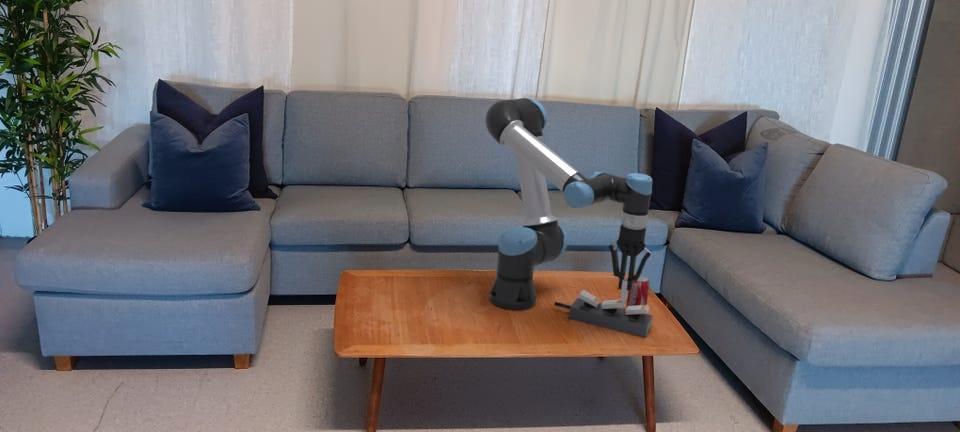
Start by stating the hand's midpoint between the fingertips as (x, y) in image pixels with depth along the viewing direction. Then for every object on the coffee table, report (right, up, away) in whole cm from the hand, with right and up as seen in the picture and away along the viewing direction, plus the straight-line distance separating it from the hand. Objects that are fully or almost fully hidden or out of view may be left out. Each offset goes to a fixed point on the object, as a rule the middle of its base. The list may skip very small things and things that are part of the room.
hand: (623, 299), depth 221 cm
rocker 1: (-10, 0, +5) cm, 11 cm away
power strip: (-7, -7, +3) cm, 10 cm away
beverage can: (+6, -6, +11) cm, 14 cm away
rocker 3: (+4, -3, -1) cm, 5 cm away
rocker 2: (-3, -2, +2) cm, 4 cm away
